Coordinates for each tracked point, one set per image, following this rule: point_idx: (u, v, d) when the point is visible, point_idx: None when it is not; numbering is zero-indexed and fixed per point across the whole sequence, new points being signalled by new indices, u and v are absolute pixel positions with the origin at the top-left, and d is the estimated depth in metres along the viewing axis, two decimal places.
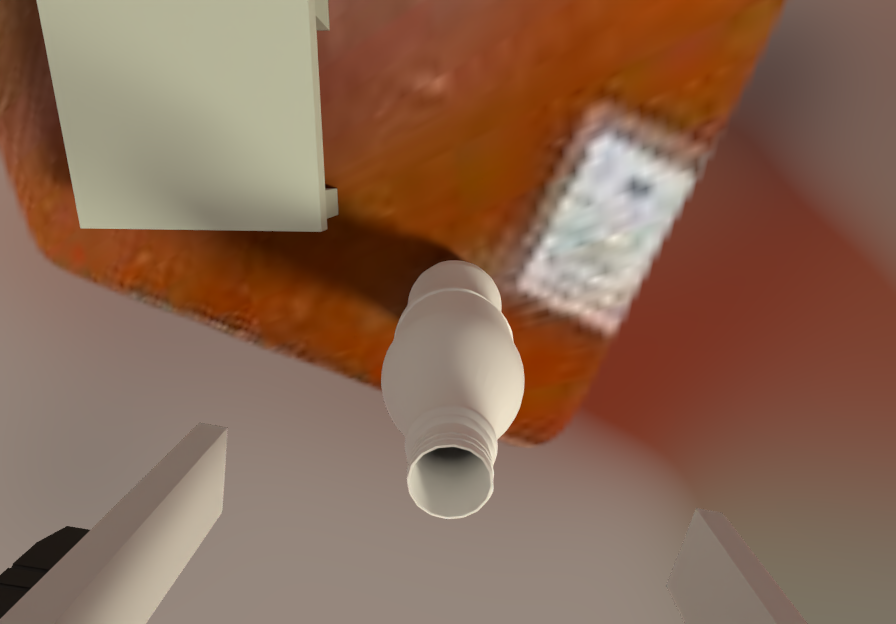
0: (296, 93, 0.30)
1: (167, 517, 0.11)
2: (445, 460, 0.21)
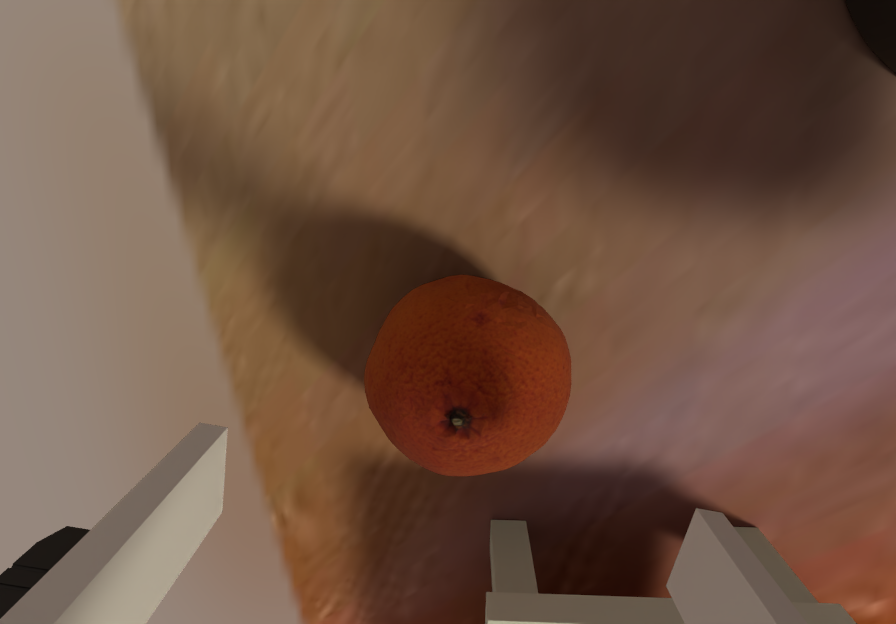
0: None
1: (167, 517, 0.11)
2: None
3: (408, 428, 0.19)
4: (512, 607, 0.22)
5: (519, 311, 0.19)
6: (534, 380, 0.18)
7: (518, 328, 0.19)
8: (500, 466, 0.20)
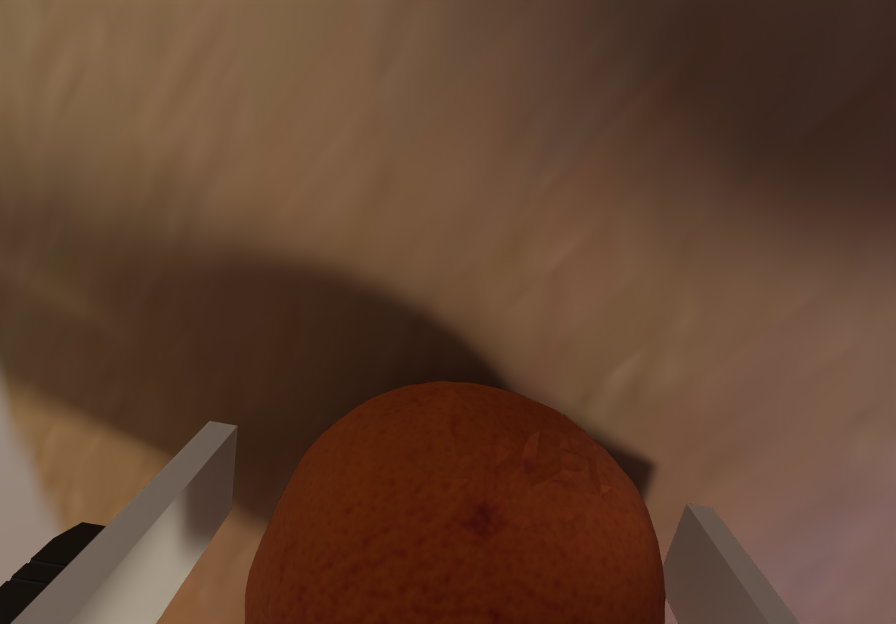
0: None
1: (180, 514, 0.11)
2: None
3: None
4: None
5: (566, 488, 0.09)
6: None
7: (570, 541, 0.08)
8: None
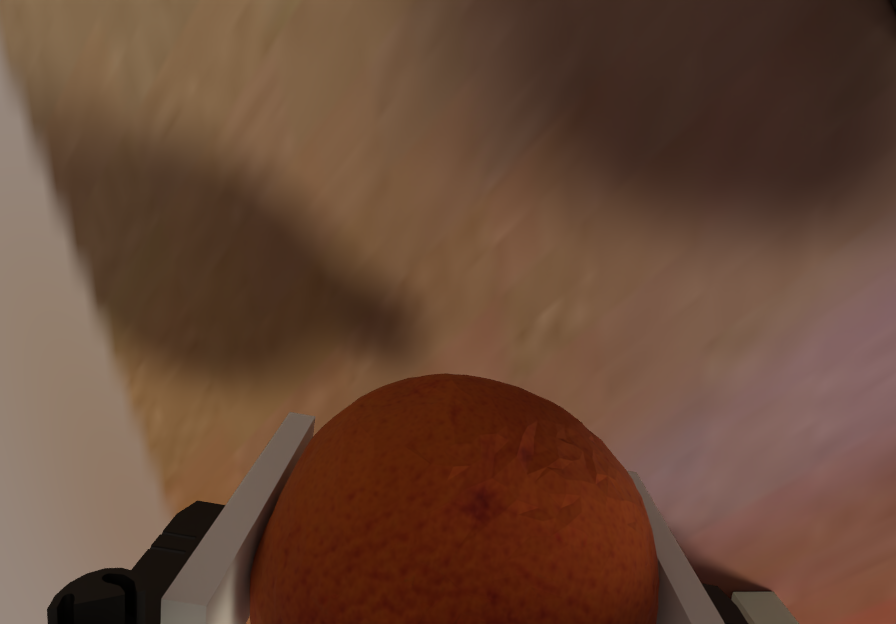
0: None
1: None
2: None
3: None
4: None
5: (563, 476, 0.09)
6: None
7: (566, 526, 0.08)
8: None
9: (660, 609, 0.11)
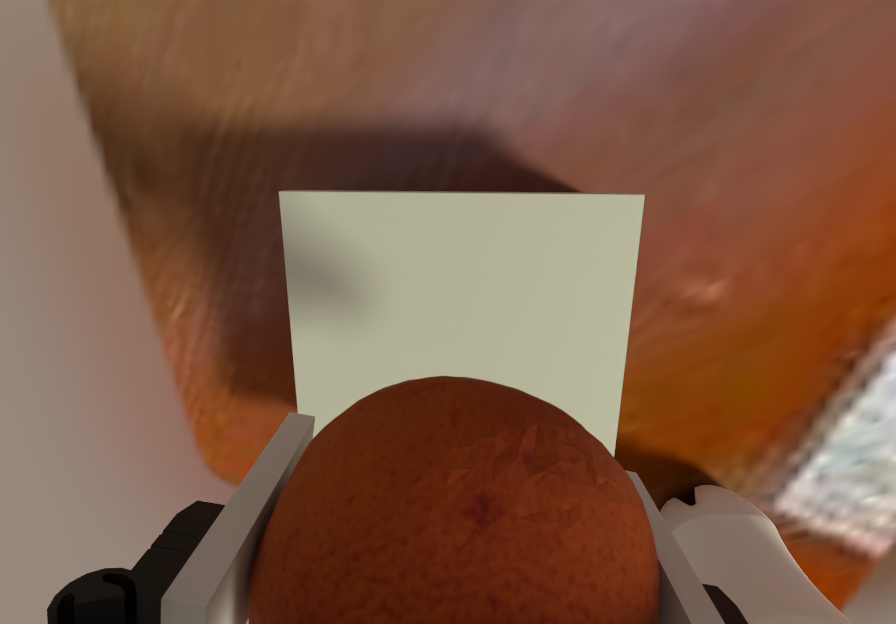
0: (603, 357, 0.24)
1: (280, 494, 0.12)
2: None
3: None
4: None
5: (563, 479, 0.09)
6: None
7: (566, 530, 0.08)
8: None
9: (660, 609, 0.11)
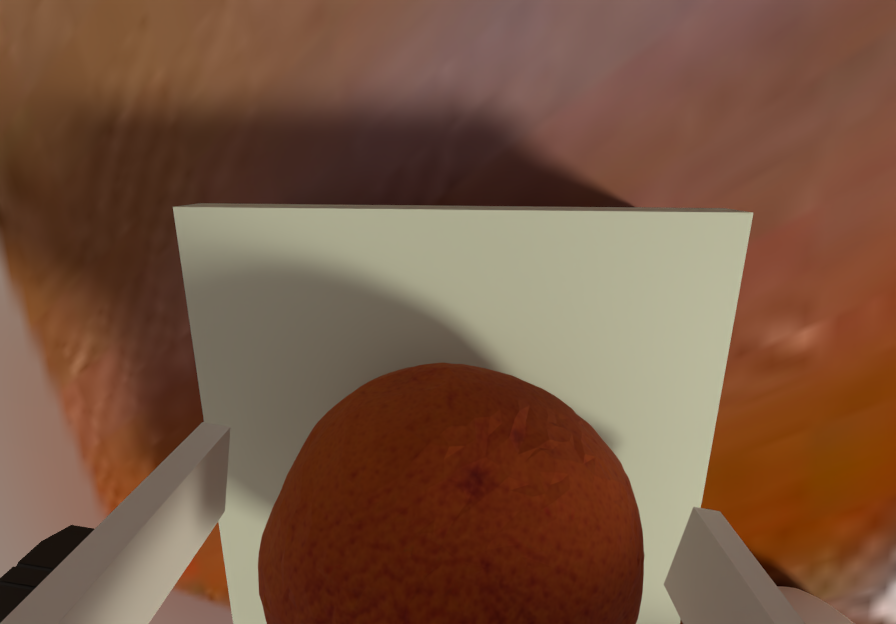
0: (676, 456, 0.16)
1: (171, 516, 0.11)
2: None
3: None
4: (224, 204, 0.14)
5: (553, 455, 0.10)
6: (588, 615, 0.09)
7: (554, 501, 0.09)
8: None
9: None
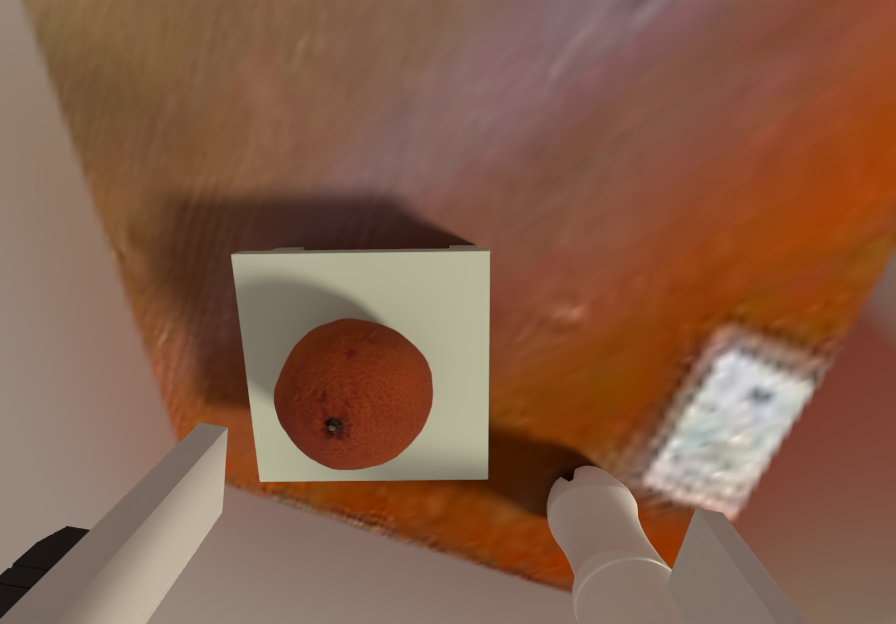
0: (473, 367, 0.32)
1: (167, 517, 0.11)
2: None
3: (300, 434, 0.26)
4: (253, 252, 0.31)
5: (382, 346, 0.26)
6: (389, 396, 0.25)
7: (379, 359, 0.26)
8: (374, 461, 0.27)
9: None
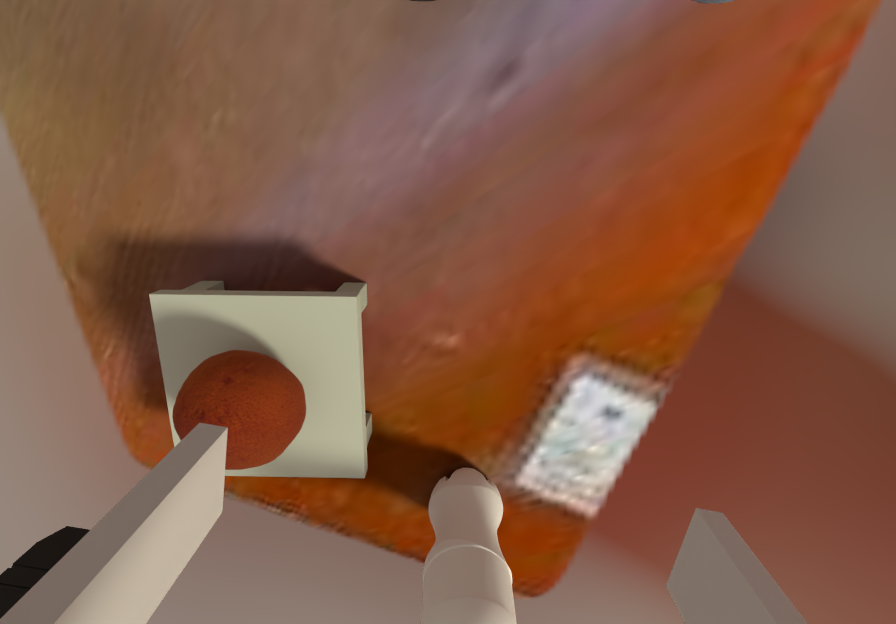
0: (347, 388, 0.40)
1: (167, 517, 0.11)
2: None
3: None
4: (168, 292, 0.39)
5: (254, 375, 0.34)
6: (255, 415, 0.33)
7: (249, 386, 0.33)
8: (249, 463, 0.35)
9: None
